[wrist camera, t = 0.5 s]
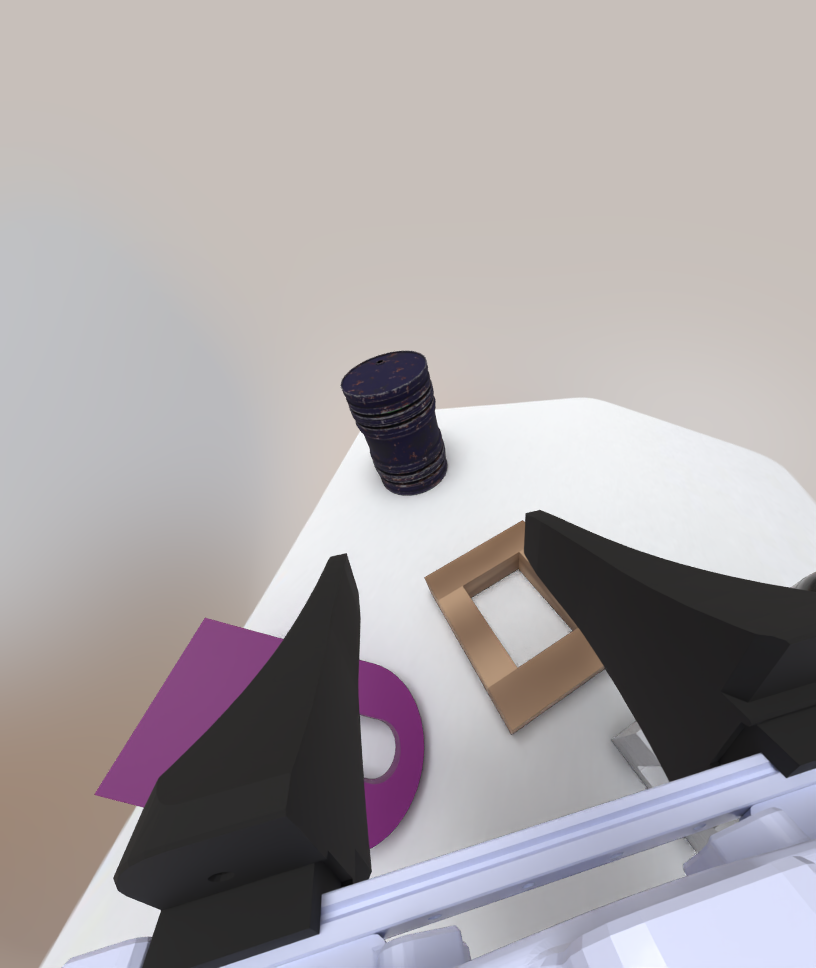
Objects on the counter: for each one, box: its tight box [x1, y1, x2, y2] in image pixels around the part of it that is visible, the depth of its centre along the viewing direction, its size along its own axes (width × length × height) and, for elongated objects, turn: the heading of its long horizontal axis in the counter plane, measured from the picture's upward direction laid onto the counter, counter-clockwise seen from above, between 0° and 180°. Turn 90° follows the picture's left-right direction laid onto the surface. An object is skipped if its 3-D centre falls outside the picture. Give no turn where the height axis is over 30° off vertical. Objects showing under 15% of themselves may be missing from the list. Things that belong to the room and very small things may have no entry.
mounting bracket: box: [95, 618, 424, 849], centre depth 22 cm, size 10×8×18 cm
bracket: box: [611, 721, 739, 852], centre depth 16 cm, size 5×4×6 cm
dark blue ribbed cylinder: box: [341, 351, 447, 495], centre depth 37 cm, size 10×10×15 cm
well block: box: [424, 520, 605, 735], centre depth 24 cm, size 12×11×3 cm
